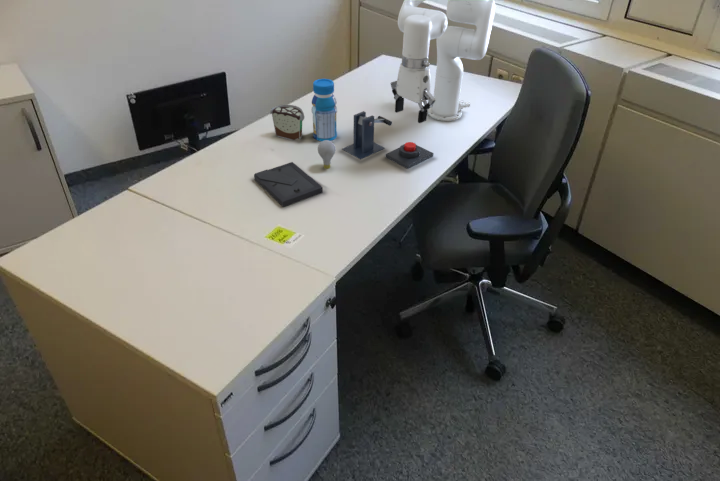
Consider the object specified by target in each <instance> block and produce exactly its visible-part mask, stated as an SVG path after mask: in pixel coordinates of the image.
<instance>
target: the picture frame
mask: <svg viewBox="0 0 720 481" xmlns="http://www.w3.org/2000/svg"><path fill="white" fill-rule="evenodd" d="M253 178H254V181H255V182H256V183H257V184H258V185H259V186H261V188H263V189H264V191H266V193H268V195H270V196H271V197H272V198H273V199H274V200H275V201H276V202H277V203H278V204H279V205H280V206H281V207H282V208H285V207H288V206H290V205H293V204H296V203H298V202H302V201H304V200H307V199H309V198H313V197H315V196H317V195H320V194H323V192H324V191H323V186H322V185H320V184H319V183H318V181H316V180H315V179H313V178H312V177H311V176H310V175H309V174H308V173H307V172H305V171H304V170H303V169H302V168H300V167H299V166H298V165H297V164H295V163H294V162H293V161H291V162H288V163H285V164H282V165H279V166H275V167H272V168H270V169H264V170H261V171H258V172H255V173H254V174H253Z"/></svg>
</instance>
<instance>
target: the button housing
mask: <svg viewBox="0 0 720 481" xmlns="http://www.w3.org/2000/svg"><path fill="white" fill-rule="evenodd" d="M404 146H405V143H403V144H401V145H400V146H399V147H397V148H395V149H392V150H391V151H389V152H387V153H385V157H384V158H385V159H387V160H390V161H392V162H394V163H395V164H397V165H399V166H401V167H403V168H405V169H407V170H410V169H411V168H413V167H416V166H417V165H419V164H421V163H423V162H425V161H427V160H429V159H431V158H433V157H434V152H432V151H430V150H428V149H426V148H424V147H421V146H420V145H418V144H416V150H415V151H414V152H408V151H405V150H404Z"/></svg>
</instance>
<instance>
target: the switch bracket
mask: <svg viewBox="0 0 720 481" xmlns="http://www.w3.org/2000/svg"><path fill="white" fill-rule="evenodd" d="M366 113H367V112H366V111H365V110H363V111H361V112H358V113H356V114H353V143H352V144H350V145H347V146H346V147H343V148H341V150H342V151H344V152H346V153H348V154H350V155H351V156H353V157H355V158H357V159H359V160H363V159H365V158H368V157H369V156H371V155H373V154H376V153H378V152H380V151H383V150H385V147H384V146H382V145H380V144H378V143H376V142H375V140H374V138H375V123H374V119H375V116H374V115H369V116H367V114H366ZM359 116H366V117H367V118H365V119H362V125H360V124H358V120H359Z"/></svg>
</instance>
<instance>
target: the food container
mask: <svg viewBox="0 0 720 481" xmlns="http://www.w3.org/2000/svg"><path fill="white" fill-rule="evenodd" d="M269 114H270V115H271V117H272V122H273V128H274V132H275V137H278V138H282V139H286V140H290V141H295V140H296V141H297V140H301V139H302V137H303V121H305V113H304V111H303V109H302V108H301V107H299V106H297V105H293V104H280V105H276V106H273V107H272V108H270V112H269Z"/></svg>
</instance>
